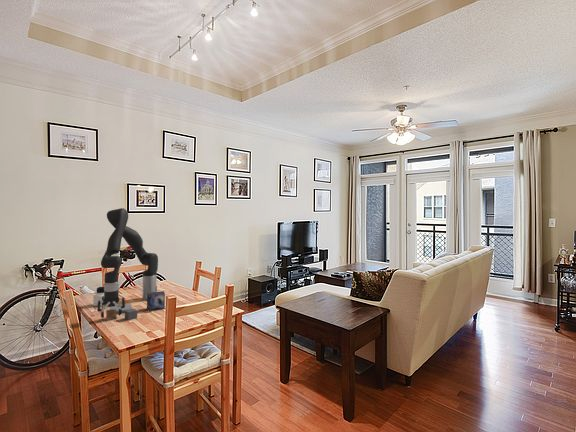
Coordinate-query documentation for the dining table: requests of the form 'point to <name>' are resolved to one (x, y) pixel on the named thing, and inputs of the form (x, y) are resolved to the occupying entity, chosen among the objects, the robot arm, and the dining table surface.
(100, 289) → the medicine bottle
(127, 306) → the slate coaster
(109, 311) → the walnut cube
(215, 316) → the dining table surface
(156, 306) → the small box
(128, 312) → the charcoal block
